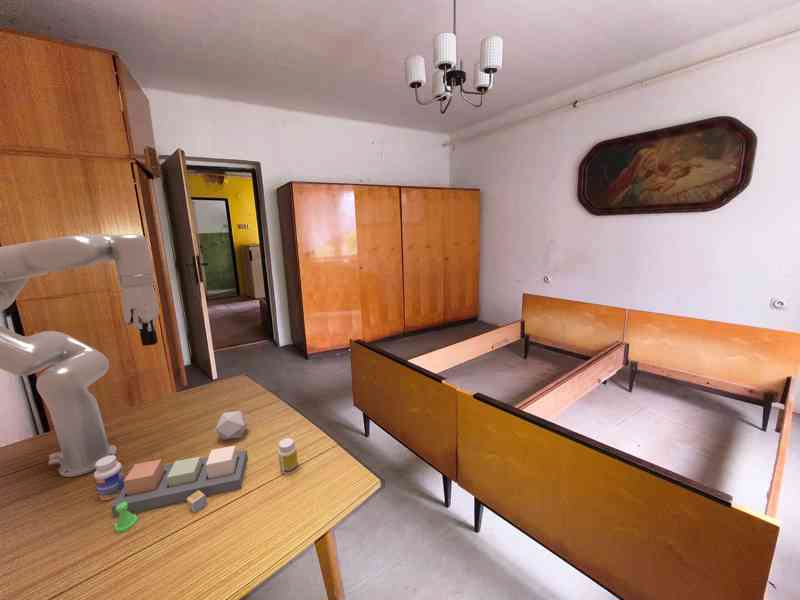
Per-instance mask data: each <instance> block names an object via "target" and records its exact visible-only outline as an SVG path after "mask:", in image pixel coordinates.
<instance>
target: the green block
mask: <svg viewBox="0 0 800 600" xmlns="http://www.w3.org/2000/svg"><path fill="white" fill-rule="evenodd" d="M201 458H202V457H201V456H196V457H192V458H191V457H190V458H186V459H180V460H175V461H174V463H173V464H174V465H173V467H172V469H171V471H170V472H169V474H168V476H167V480H168V485H169V487H174V486H179V485H184V484H189V483H193V482H197V480H198V478H199V475H200V473H201V470H202V463H201Z"/></svg>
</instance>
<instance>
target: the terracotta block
mask: <svg viewBox="0 0 800 600" xmlns="http://www.w3.org/2000/svg"><path fill="white" fill-rule="evenodd" d="M163 466H164V464H163V461H162V459H156V460H149V461H145V462H141V463H135V464H134V465H133V467H132V468H131V470H130V471H129V473H128V474H127V475H126V477H125V480H124V485H125V489H126V493H127V496H131V495H136V494H141V493H145V492H150V491H155V490H157V489H158V487H159V485H160V483H161V481H162V479H163V477H164V476H165V473H164V468H163Z"/></svg>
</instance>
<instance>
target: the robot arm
mask: <svg viewBox="0 0 800 600" xmlns="http://www.w3.org/2000/svg"><path fill="white" fill-rule="evenodd" d="M111 262H114V266H115V269H116V275H117V279H118V283H119V288H120V289H121V290H120V291H121V293H120V294H121V296H120V297H121V304H122V305H121V306H122V312H123V318H124V323H125V325H129V326H130V325H132V324H133V328H134V330H136V331H138V333H139V336H140V340H141V345H142V346H143V347H145V346H154V345H156V344H157V343H158V336H157V331H156V323H155V322H156V319H157V317H158V316H159V314H160V308H159V307H160V306H159V302H158V298H157V297H158V296H157V295H156V290H155V288H154V286H155V285H156V282H155V276H154V271H153V267H152V266H153V265H152V262H151V256H150V251H149V247H148V241H147V238H146V236H144V235H143V234H140V233H139V234H138V233H137V234H135V233H134V234H133V233H132V234H130V233H129V234H105V233H93V234H78V235H77V234H75V235H67V236H62V237H55V238H54V237H53V238H48V239H43V240H42V239H40V240H37V241H36V240H35V241H28V242H22V243H17V244H10V245H4V246H0V312H3V311H4V310H6V309H8V308H9V307H10V306H11V305H12V304H13V303H14V302H15V300H16V299H17V297H18V296H19V294H20V292H21V291H22V290H23V288H24V286H25V285H26V284H27V283H28V280H30V278H35V277H40V276H41V277H42V276H45V275H48V274H49V273H52V272H58V271H64V270H68V269H69V270H70V269H75V268H76V269H77V268H82V267H83V268H84V267H87V266H93V265H98V264H105V263H111ZM46 368H47V369H46ZM0 369H1V370H3V371H5V372H7V373H10V374H12V375H14V376H20V377H23V376H24V377H25V376H30V375H33V374H36V373H37V372H39V371H42V370H43V369H45V370H44V371H43V372H42V373H41V374H39V376H38V378H37V380H36V385H35V386H36V390H37V392H38V394H39V395H40V397H41V398H42V400H43V402H44V403H45V405H46V407H47V409H48V411H49V414H50V417H51V421H52V423H53V427H54V430H55V434H56V437H57V440H58V443H59V444H58V445H59V447H60V450H61V452H60V451H59V452H54V453H51V454H49V456H48V465H57V464H60V466H59V468H58V474H59V475H60V476H61V477H66V478H73V477H78V476H79V477H80V476H82V475H86V474H89V473H91V472H93V471H94V472H95V471H96V470H97V469H96V466H95V464H96V462H97V461H98V460H100V459H102V458H104V457H106V456H111V455H114V456H116V457H117V454H118V449H117V447H116V445H113V444H109V442H108V439H107V434H106V430H105V425H104V422H103V419H102V414H101V411H100V408H99V403H98V400H97V399H96V397H95V395H93V394H92V393H91V392H90V391H89V389H88V388H89V386H91V385H92V384H93V383H95V382H97V381H98V380H99V379H101V378H102V377H103V376H105V375H106V374H107V372H108V371H109V369H110V361H109V359H108V357H107V356H105V354H103V353H102V352H101V351H99V350H97V349H96V348H94V347H92V346H90V345H88V344H87V343H84V342H82V341H80V340H79V339H77V338H75V337H73V336H71V335H69V334H66V333H65V332H64V333H63V332H61V331H55V330H47V331H41V332H37V333H34V334H31V335H29V336H25V335H24V336H23V335H21V334H19V333H17V332H14V331H12V330H10V329H9V328H7V327H4V326H1V325H0Z"/></svg>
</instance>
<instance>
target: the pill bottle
mask: <svg viewBox="0 0 800 600" xmlns="http://www.w3.org/2000/svg"><path fill="white" fill-rule="evenodd" d="M95 466H96V470H94V473H93V477H94V481H95V485H96V489H97V493H98V497H99V499H100V500H101V501H108V500H112V499H116V498H117V497H118V495H119V494H120V492H121V491H122V489H123V488H124V486H125V485H124V480H125V478H126V477H125V473H124V470H123V466H122V463H121V462H119V461H118V459H117V455H116V456H114V455H111V456H106V457H104V458H102V459H100V460H98V461H97V462H96V464H95Z"/></svg>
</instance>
